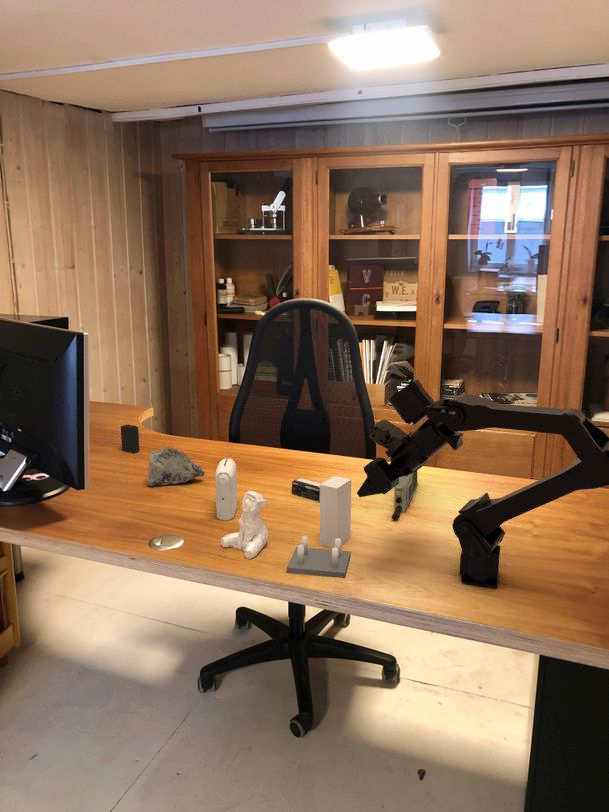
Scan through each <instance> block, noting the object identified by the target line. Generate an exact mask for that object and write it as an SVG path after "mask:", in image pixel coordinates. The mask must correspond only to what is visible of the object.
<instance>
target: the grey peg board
mask: <svg viewBox="0 0 609 812" xmlns="http://www.w3.org/2000/svg"><path fill="white" fill-rule="evenodd" d="M308 538H309V537H308V535H302V536H301V544H297V546H296V547H295V549H294V552H293V553H292V556H291V557H290V560H289V562H288V564H287V567H286V573H288V574H299V575H310V576H321V577H323V576H324V577H333V578H344V579H345V577H346V574H347V571H348V568H349V567H348V566H349V564H350V563H349V562H350V559H351V554H352V552H351V550H342V545H341V539H340V538H336V539H335V547H331V549H326V548H316V547H315V548H313V547H309V545H308V544H309V540H308Z"/></svg>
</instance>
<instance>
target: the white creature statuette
mask: <svg viewBox="0 0 609 812" xmlns="http://www.w3.org/2000/svg"><path fill="white" fill-rule="evenodd" d="M241 501H242V505H241V507H242V513H241V516H240V517H239V518H238V520H237V521H238V525H239V531H238V532H232V533H228V534H226V535H224V536H223V537H221V538H220V542H221V543H220V544H221V546H222V548H234V549H237V550H239V551H240V550H241V551H242V552H243V553H244V557H245V558H246V559H247V560H248V559H249V560H251V559H253V558H255V557H257V556H258V554H259V552H260V551H262V549H263V548H264V546H265V545H266V544H267V542H268V538H269V533H270V532H269V531H268V529H267V527H266V525H265V523H264V518H263V516H262V515H261V513H260V512H261V510H263V507H265V506H266V505H267V504H268V500H267V499H264V497H263V495H262V494H261V493H259V492H257V491H254V490H247V491H246V493H245V494H244V495H243V498H242V500H241Z"/></svg>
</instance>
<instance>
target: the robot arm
mask: <svg viewBox="0 0 609 812" xmlns="http://www.w3.org/2000/svg"><path fill="white" fill-rule="evenodd" d="M387 401H388V403H389V404H390V406H392V408H393V409H394V411H396V412H397V414H398V415H399V416H400V418H401V419H402V420H403V422H405V424H407V425H408V426H410V425H411V424H413V425H414V426H416V425H417V424H419V423H421V422H422V421H424V419H426V418H427V420H426V421H424V422H423V423H422V424H421V425H420V426H419V427H417V428H416V429H415V430H414V431H413V430H412V431H411V432H409V433H406V432H405V431H404V430H403V429H402V428H400V427H398V426H397V425H395V424H394V423H392V422H390V420H387V419H382V420H379V421H378V422H376V423H375V424H374V426H373V427H372V429H370V430H369V434H370V435H369V439H370V440H371V441H372V442H374V443H375V444H376V445H379V446H382V447H383V448H385V449H386V450H385V451H384V453H385V455H387V458H390V459H389V460H390V463H389V462H388V461H387V460H386V459H385V458H384V457H379V456H377V457H375V458H374V459H373V460H371V461H369V462H368V463H367V464H366V465H365V466H364V467H363V472H364V473H365V475H366V478H365V479H364V481H363V482H362V484H361V486H360V487H359V488H358V489H357V492H356V495H358V497H359V498H364V497H369V496H375V495H381V494H382V495H386V494H387V493H389V492H390V491H391V490H394V487H395V486H397V485H398V484H399V478H400V477H403V476H408V475H409V474H413V473H414V472H415V471H417V472H418V470H420V469H422V468H423V467H424V466H425V465H427V464H428V463H429V462H428V461H429V459H431V458H433V457H434V456H435V455H436V454H437V453H439V451H441V450H442V449H443V448H444V447H446V446H447V445H449V447H451V449H452V450H453V451H457V450H459V448H461V447H462V446H463V445H464V441H463V437H464V432H471V431H473V432H474V431H479V430H480V431H481V430H486V429H502V430H510V431H511V430H514V431H521V432H532V433H542V434H551V435H561V436H562V437H563V438H564V439H565V441H566V442H567V443H568V445H569V446H570V448H571V449H572V451H573V453H574V454H575V455H576V457H577V459H576V460H574V461H573V462H572V463H571V464H570V465H568V466H565V468H562V469H560V470H558V471H556V472H553V473H551V474H549V475H547V476H545V477H543V478H540V479H538V480H536V481H534V482H531V483H529V484H527V485H525V486H523V487H521V488H519V489H516V490H514V491H512V492H511V493H508V494H506V495H503V496H502V497H498V498H490V495H489V493H488V492H485V493H483V494H482V495H481V496H479V497H478V498H475V499H473V498H472V499H470V500H469V501H467V503H465V504H464V505H463V506H462V507H461V508H460V509H459V510H458V514H457V516H455V517H454V519H453V521H452V531H453V534H454V535H455V536H456V538H457V539H458V542H459V545H460V548H461V552H460V559H459V572H458V573H459V575H460V576H461V579H460V582H461V583H462V584H468V585H474V586H481V587H486V588H487V587H488V588H494V589H497V588H498V587H499V580H500V571H501V570H500V559H501V545H499V544H500V543H502V542H503V539H504V538H505V535H506V531H505V530H504V529H503V528H502V527H501V526H502V524H504V523H506V522H507V521H509V520H512V519H515V518H517V517H518V516H521V515H524V514H526V513H528V512H530V511H533V510H534V509H537V508H539V507H542V506H544V505H546V504H549V503H552V502H554V501H556V500H558V499H560V498H564V497H565V496H567V495H570V494H572V493H574V492H576V491H584V490H585V491H586V490H595V489H599V488H603V487H608V486H609V435H608V434H607V433H606V432H605V431H604V430H603V429H601V428H600V427H598V426H597V425H596V424H594V422H592V421H591V420H590V419H588V417H587V416H586V415H585V414H584V413H583V412H582V411H581V410H580V409H578V408H577V409H576V408H575V407H574V408H557V407H556V408H555V407H545V406H544V407H543V406H534V405H533V406H530V405H518V404H506V403H505V404H504V403H499V402H494V401H493V400H491V399H488V398H485V397H483V396H478V395H476V394H475V395H474V394H471V393H461V394H459V395H457V396H455V397H454V398H440V399H437V400H436V401H435V400H434V399H433V398H432V396H430V394H429V392H427V390H425V388H424V386H423V385H422V383H421V381H419V380H418V379H414V380H412V381H411V382H410V383H408V384H407V385H405V386H404V387H403V388H401V389H400V390H398V391H396V392H395V393H393V395H391V396H390V397H389V399H388V400H387Z"/></svg>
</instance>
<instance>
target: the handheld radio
mask: <svg viewBox="0 0 609 812" xmlns="http://www.w3.org/2000/svg"><path fill="white" fill-rule="evenodd" d="M417 486H418V470H417V471H415V472H414V473H413V474H409V475H408V476H403V477H400V478H399V484H398V485H397V486H395V487H394V488H393V490H394V491H393V493H394V495H393V496H394V511H393V514H392V515H391V519H392V520H393V521H396V520H398V518H399V516H400V514H404V513H405V512H406V511H407V509H408V507H409V504H410V502H411V500H412V498H413V496H414V494H415V491H416V489H417Z"/></svg>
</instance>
